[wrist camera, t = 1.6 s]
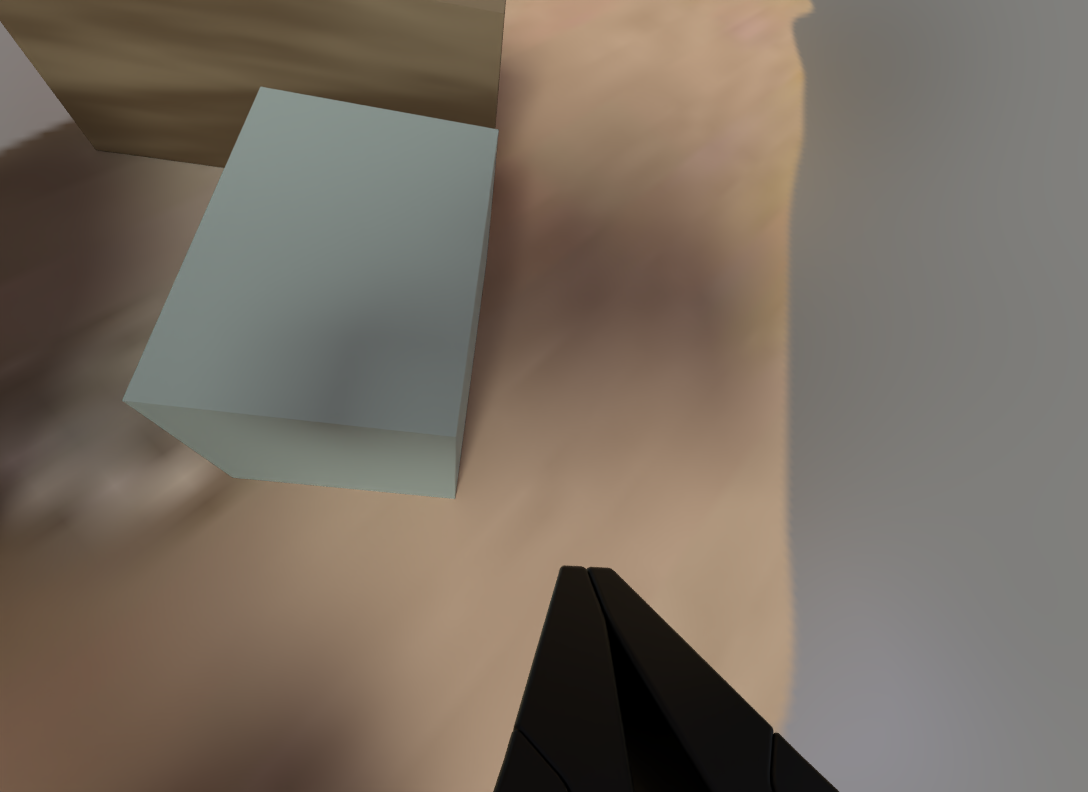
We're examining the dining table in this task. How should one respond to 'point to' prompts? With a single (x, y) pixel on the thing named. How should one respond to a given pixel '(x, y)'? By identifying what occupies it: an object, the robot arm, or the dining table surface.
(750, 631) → the dining table surface
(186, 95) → the walnut board
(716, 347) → the dining table surface
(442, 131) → the grey block
